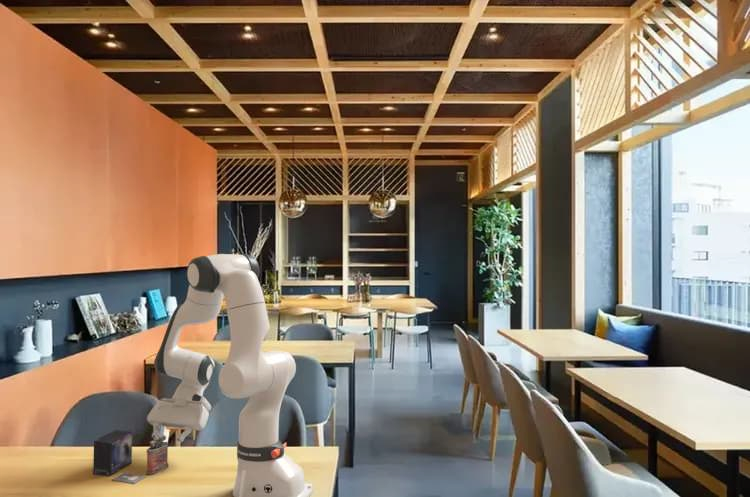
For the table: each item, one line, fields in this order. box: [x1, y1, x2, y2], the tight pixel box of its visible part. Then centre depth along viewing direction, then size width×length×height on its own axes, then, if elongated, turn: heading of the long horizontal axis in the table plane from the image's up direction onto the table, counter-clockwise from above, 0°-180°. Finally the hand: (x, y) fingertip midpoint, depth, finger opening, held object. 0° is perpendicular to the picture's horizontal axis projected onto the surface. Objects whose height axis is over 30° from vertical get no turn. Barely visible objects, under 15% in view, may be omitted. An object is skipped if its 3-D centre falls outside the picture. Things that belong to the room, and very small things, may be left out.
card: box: [111, 472, 148, 484], centre depth 161 cm, size 8×5×1 cm, turn 74°
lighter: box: [146, 435, 169, 477], centre depth 167 cm, size 8×3×10 cm, turn 161°
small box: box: [92, 429, 133, 477], centre depth 168 cm, size 11×6×10 cm, turn 168°
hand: (166, 439), depth 172 cm, fingers open, 8 cm apart
